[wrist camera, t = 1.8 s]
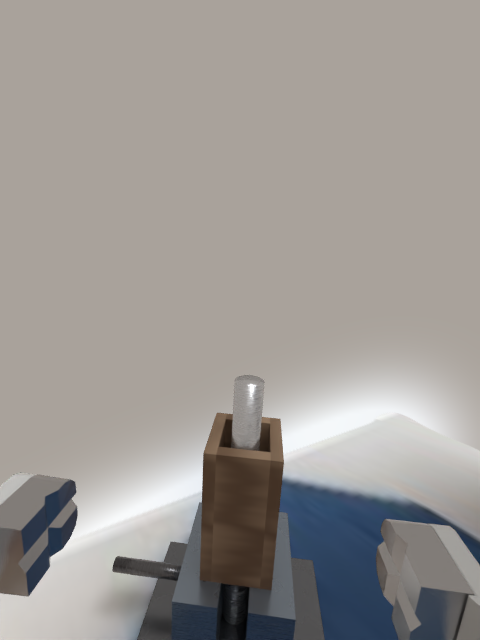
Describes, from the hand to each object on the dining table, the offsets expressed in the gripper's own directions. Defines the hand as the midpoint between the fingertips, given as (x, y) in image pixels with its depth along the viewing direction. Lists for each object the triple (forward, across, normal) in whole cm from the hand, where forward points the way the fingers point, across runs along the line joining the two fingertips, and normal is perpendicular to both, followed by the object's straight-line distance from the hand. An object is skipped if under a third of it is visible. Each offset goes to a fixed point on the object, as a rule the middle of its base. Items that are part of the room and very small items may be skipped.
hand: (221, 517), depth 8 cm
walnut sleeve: (+12, 0, +15) cm, 20 cm away
